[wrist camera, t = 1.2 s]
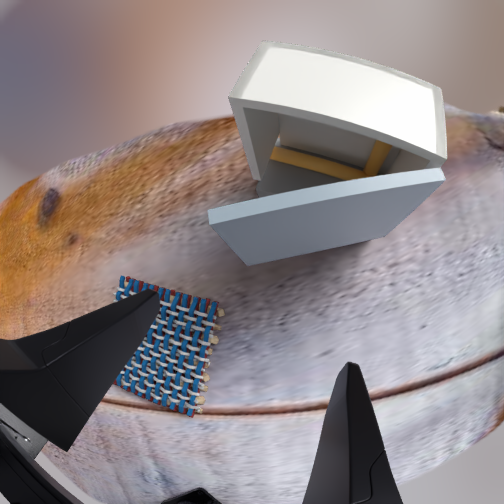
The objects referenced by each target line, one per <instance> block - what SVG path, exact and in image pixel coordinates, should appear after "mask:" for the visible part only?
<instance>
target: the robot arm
mask: <svg viewBox="0 0 504 504" xmlns="http://www.w3.org/2000/svg"><path fill="white" fill-rule="evenodd" d="M159 311H160V299H159V293H158V292H157V291H155V290H153V289H145V290H143V291H141V292H138V293H136V294H133V295H131V296H129V297H126V298H124V299H121V300H119V301H117V302H114V303H112V304H109V305H107V306H105V307H102V308H100V309H98V310H95V311H93V312H90V313H88V314H86V315H83V316H81V317H78V318H76V319H74V320H71V322H70V321H69V322H66V323H64V324H62V325H59V326H57V327H54V328H51V329H48V330H46V331H43V332H39V333H36V334H33V335H30V336H26V337H23V338H20V339H16V340H5V339H0V492H1V493H2V494H3V496H4V497H5V498H6V499H7V500H8V501H9V502H10V504H84V503H82V502H81V501H80V500H78V499H77V498H76V497H75V496H73V495H72V494H71V493H70V492H68V491H67V490H66V489H65V488H64V487H63V486H61V485H60V484H59V483H58V482H57V481H56V480H55V479H54V478H52V477H51V476H50V475H49V474H48V473H47V472H46V471H45V470H44V469H43V468H42V467H41V466H40V465H39V464H38V463H37V462H36V461H35V460H34V459H35V458H36V456H37V455H38V454H39V452H40V451H41V449H42V448H43V447H44V445H45V444H46V443H47V441H48V440H49V441H50V442H52V443H53V444H55V445H56V446H58V447H59V448H61V449H63V450H64V451H66V452H67V451H68V450H69V449H70V447H71V445H72V444H73V442H74V441H75V439H76V438H77V436H78V435H79V433H80V432H81V430H82V429H83V427H84V426H85V424H86V423H87V421H88V420H89V417H90V416H91V415H92V413H93V412H94V410H95V409H96V407H97V406H98V404H99V403H100V401H101V400H102V399H103V397H104V396H105V394H106V393H107V391H108V390H109V388H110V387H111V385H112V384H113V383H114V381H115V380H116V378H117V377H118V375H119V374H120V373H121V371H122V370H123V368H124V367H125V365H126V364H127V363H128V361H129V360H130V358H131V357H132V356H133V354H134V353H135V351H136V350H137V349H138V347H139V346H140V344H141V343H142V341H143V340H144V338H145V336H146V334H147V333H148V331H149V329H150V327H151V325H152V324H153V322H154V320H155V318H156V317H157V315H158V313H159ZM384 449H385V447H384V444H383V440H382V436H381V433H380V430H379V426H378V423H377V419H376V416H375V413H374V409H373V406H372V403H371V400H370V397H369V394H368V390H367V387H366V384H365V381H364V378H363V375H362V372H361V369H360V367H359V365H358V364H356V363H352V362H347V363H346V364H345V366H344V367H343V368H342V370H341V371H340V372H339V374H338V376H337V379H336V382H335V385H334V389H333V392H332V395H331V398H330V402H329V405H328V408H327V411H326V414H325V418H324V422H323V427H322V432H321V436H320V441H319V445H318V449H317V453H316V457H315V461H314V465H313V469H312V472H311V476H310V480H309V483H308V487H307V490H306V493H305V496H304V500H303V503H302V504H403V502H402V499H401V497H400V494H399V491H398V489H397V486H396V483H395V480H394V478H393V475H392V472H391V469H390V465H389V462H388V458H387V454H386V451H385V450H384ZM199 491H200V492H199ZM201 492H202V493H201ZM161 504H221V503H220V502H219V501H218V500H216V499H215V498H214V497H213V496H212V495H211V494H209V493H208V492H207V491H206V490H205V489H203V488H197V489H194V490H192V491H190V492H187V493H185V494H182V495H179V496H177V497H174V498H171V499H169V500H166V501H163V502H162V503H161Z"/></svg>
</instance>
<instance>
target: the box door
mask: <svg viewBox="0 0 504 504" xmlns="http://www.w3.org/2000/svg"><path fill="white" fill-rule="evenodd" d="M445 180H446V179H445V177H444V174H443V172H442V170H441V168H432V169H424V170H416V171H408V172H401V173H394V174H387V175H380V176H374V177H367V178H361V179H355V180H349V181H343V182H338V183H332V184H326V185H321V186H316V187H310V188H305V189H300V190H295V191H290V192H285V193H280V194H275V195H271V196H266V197H261V198H257V199H252V200H248V201H243V202H239V203H235V204H230V205H226V206H222V207H218V208H214V209H210V210H208V217H209V224H210V226H211V227H212V228H213V229H214V230H215V231H216V232H217V234H218V235H219V236H220V237H221V238H222V239H223V240H224V241H225V242H226V243H227V244H228V246H229V247H230V248H231V249H232V250H233V251H234V252H235V253H236V254H237V255H238V256H239V257H240V259H241V260H242V261H243V262H244V263H245V264H246V265H247V266H251V265H255V264H260V263H265V262H270V261H275V260H279V259H284V258H289V257H294V256H298V255H303V254H308V253H313V252H317V251H322V250H327V249H331V248H336V247H340V246H345V245H350V244H354V243H359V242H363V241H368V240H372V239H377V238H381V237H385V236H386V235H387V234H388V233H389V232H390V231H392V230H393V229H394V228H395V227H396V226H397V225H398V224H400V223H401V222H402V221H403V220H404V219H405V218H406V217H407V216H408V215H409V214H411V213H412V212H413V211H414V210H415V209H416V208H417V207H418V206H419V205H420V204H421V203H422V202H423V201H425V200H426V199H427V198H428V197H429V196H430V195H431V194H432V193H433V192H434V191H435V190H436V189H437V188H438V187H439V186H440V185H441V184H442V183H443V182H444V181H445Z"/></svg>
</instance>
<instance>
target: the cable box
mask: <svg viewBox="0 0 504 504" xmlns="http://www.w3.org/2000/svg"><path fill="white" fill-rule="evenodd" d="M228 98H229V101H230V105H231V108H232V111H233V114H234V117H235V121H236V124H237V127H238V130H239V134H240V137H241V140H242V144H243V147H244V150H245V154H246V157H247V160H248V164H249V167H250V170H251V174H252V177H253V179H255V180H259V181H258V184H257V187H256V191H257V194H258V198H261V197H266V196H271V195H275V194H280V193H285V192H290V191H295V190H300V189H305V188H310V187H316V186H321V185H326V184H332V183H338V182H343V181H349V180H355V179H361V178H367V177H374V176H380V175H387V174H394V173H401V172H408V171H416V170H424V169H432V168H440V167H441V166H442V165H443V163H444V162H445V161H446V160H447V140H446V125H445V114H444V105H443V97H442V90H441V88H439V87H437V86H434V85H433V84H431V83H428V82H426V81H424V80H421V79H419V78H417V77H414V76H412V75H409V74H406V73H404V72H401V71H398V70H396V69H393V68H390V67H387V66H384V65H381V64H378V63H374V62H372V61H368V60H365V59H361V58H357V57H353V56H350V55H346V54H342V53H338V52H334V51H329V50H324V49H319V48H313V47H309V46H303V45H296V44H289V43H282V42H273V41H262V43H261V44H260V46H259V47H258V49H257V50H256V52H255V53H254V55H253V57H252V58H251V60H250V61H249V63H248V64H247V66H246V68H245V69H244V71H243V73H242V74H241V76H240V77H239V79H238V81H237V83H236V84H235V86H234V88H233V90H232V91H231V93H230V95H229V96H228ZM279 133H280V138H278V136H279Z"/></svg>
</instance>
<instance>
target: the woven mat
mask: <svg viewBox="0 0 504 504" xmlns="http://www.w3.org/2000/svg"><path fill="white" fill-rule="evenodd" d="M124 280H125V277H124V276H121V277H120V284H119V287H117V290H118V292H117V293H115V292H114V294H113V295H115V296H116V300H115V299H114V301H113V302H117V301H119V300H121V299H124V298H126V297H129V296H131V295H133V294H136V293H138V292H141V291H143V290H145V289H153V290H155V291H157V292H158V293H159V299H160V311H159V313H158V315H157V318H155V320H154V322H153V324H152V325H151V327H150V329H149V331H148V333H147V334H146V336H145V338H144V340H143V341H142V343H141V344H140V346H139V347H138V349H137V350H136V351H135V353H134V354H133V356H132V357H131V358H130V360H129V361H128V363H127V364H126V365H125V367H124V368H123V370H122V371H121V373H120V374H119V375H118V377H117V378H116V380H115V381H114V383H113V384H115V385H118V386H121V388H123V389H125V390H127V391H129V392H130V391H131V392H133V393H134V394H135V395H138V396H140V397H142V398H145V396H146V399H148V401H151V402H152V401H153V402H154V403H156V404H158V405H160V404H161V401H162V406H165V407H166V406H167V407H170V409H172V410H173V411H177V407H178V406H179V412H181V413H183V414H185V413H186V409H188V412H187V415H189V417H192V418H193V416H194V413H195V412H198V413H202V411H203V409H200V407H197V404H204V402H205V399H204V397H203V396H200V390H202V391H206V392H207V389H208V386H205V385H204V384H203V383H201V380H203V381H204V382H206V381H208V380H210V378H209V376H208V374H206V373H204V372H205V369H204V368H209V365H210V364H211V363H210V361H209V359H206V358H207V354H209V355H212V350H213V349H211V348H209V347H210V344H217V343H218V341H219V339H218V337H217V336H214V335H213V329H214V330H220V331H221V327H222V326H220V325H217V324H215V323H214V322H215V319H216V316H218V317H221V316H223V315H225V313H224V309H221V308H218V303H219V302H215V301H214V302H212V305H211V306H209V302H210V299H207V298H206V299H202V300H201V298H200V297H194V299H193V301H191V297H192V295H187V294H183V293H180V292H176V295H175V290H168V289H166V288H161V287H160V288H159V286H156V285H151V284H148V283H144V282H143V281H137V280H136V279H131V278H130V277H129V276H127V277H126V282H125V281H124ZM143 283H144V285H143ZM158 288H159V291H158ZM182 295H183V298H182ZM200 300H201V303H200ZM180 305H181V306H182V307H180ZM189 308H190V309H189ZM179 310H180V312H179ZM198 310H199V311H200V312H198ZM206 313H208V314H206ZM197 315H198V317H196V316H197ZM206 317H207V320H205V318H206ZM177 320H178V321H177ZM176 323H177V324H178V325H177V324H176ZM194 324H196V326H195V325H194ZM203 327H206V329H205V328H203ZM165 332H166V334H165ZM183 334H185V335H183ZM156 338H157V339H156ZM182 338H184V340H183V339H182ZM201 340H202V341H201ZM190 341H192V342H190ZM200 343H201V344H202V346H201V345H199V344H200ZM180 347H181V349H182V351H180ZM189 349H190V350H191V352H190V353H188V350H189ZM153 350H154V352H153ZM198 352H200V357H199V356H198ZM169 356H171V358H169ZM186 362H187V363H188V364H186ZM167 368H168V372H167ZM195 369H196V370H195ZM175 370H176V371H177V374H175ZM184 373H185V374H184ZM157 375H158V379H157ZM192 377H195V380H192ZM165 378H166V381H165ZM173 382H174V383H175V385H174V384H173ZM190 387H191V388H193V392H192V391H191V390H190ZM138 391H139V392H138ZM162 392H164V393H162ZM153 397H154V400H153ZM179 397H180V398H181V400H179ZM188 400H189V401H190V404H188Z"/></svg>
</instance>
